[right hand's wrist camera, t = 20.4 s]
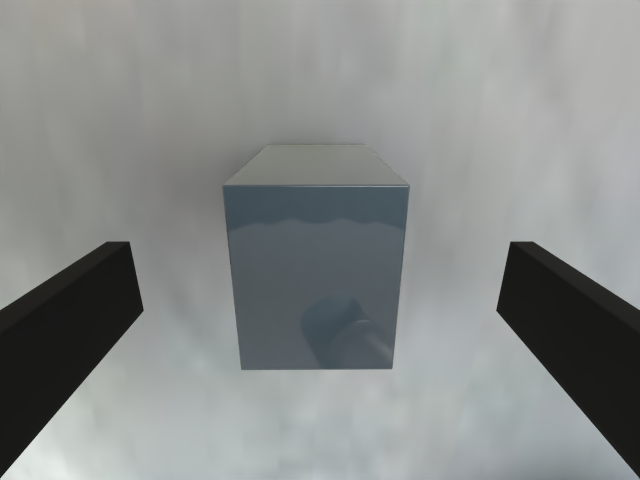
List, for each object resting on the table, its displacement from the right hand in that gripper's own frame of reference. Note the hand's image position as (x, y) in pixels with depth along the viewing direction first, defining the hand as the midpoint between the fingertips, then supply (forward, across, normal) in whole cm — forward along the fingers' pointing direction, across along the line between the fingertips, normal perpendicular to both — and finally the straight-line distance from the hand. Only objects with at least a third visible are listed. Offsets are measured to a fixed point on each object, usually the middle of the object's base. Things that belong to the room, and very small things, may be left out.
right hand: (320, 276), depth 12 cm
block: (+9, 0, 0) cm, 9 cm away
